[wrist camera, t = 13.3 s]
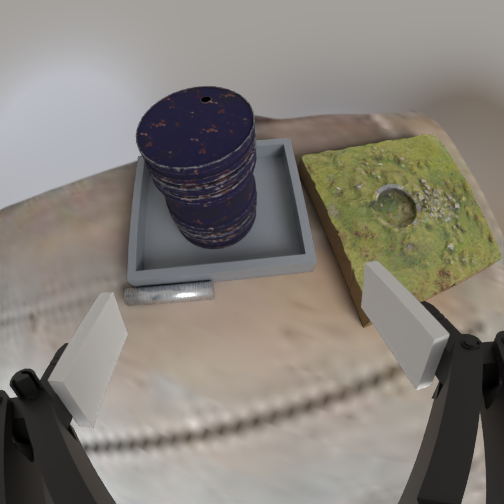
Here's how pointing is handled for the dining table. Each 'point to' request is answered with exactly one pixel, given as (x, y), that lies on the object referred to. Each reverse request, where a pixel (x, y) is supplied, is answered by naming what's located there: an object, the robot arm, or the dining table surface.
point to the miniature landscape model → (399, 215)
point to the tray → (238, 255)
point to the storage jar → (203, 162)
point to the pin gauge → (169, 293)
